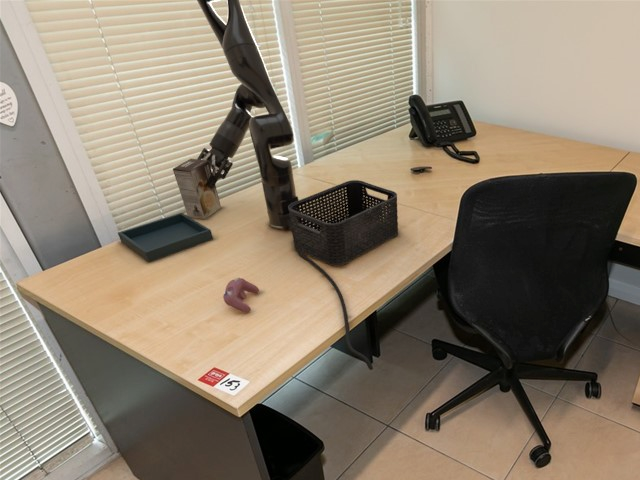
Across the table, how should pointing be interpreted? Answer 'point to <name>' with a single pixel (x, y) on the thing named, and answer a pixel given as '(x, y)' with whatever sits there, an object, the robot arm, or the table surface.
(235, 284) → the video game controller
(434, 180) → the table surface
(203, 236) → the tray
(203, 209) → the coffee box
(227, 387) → the table surface
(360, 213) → the storage bin
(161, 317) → the table surface
